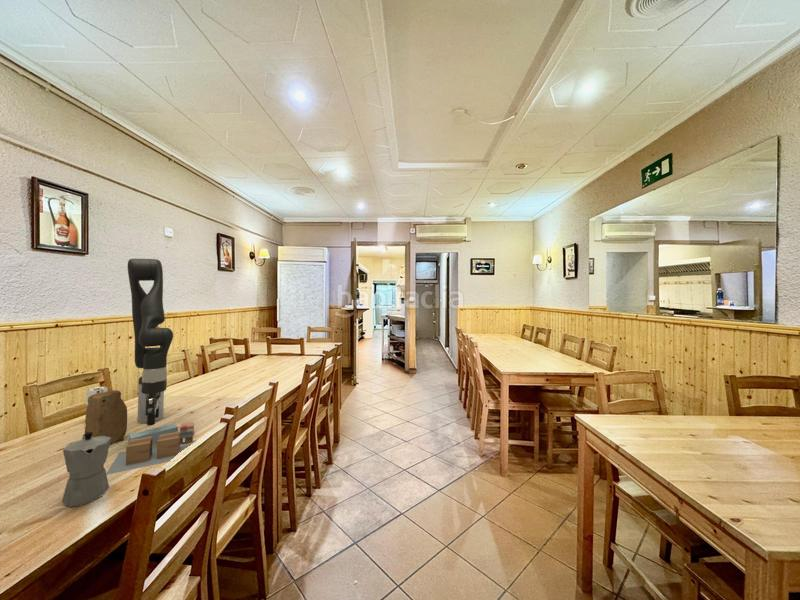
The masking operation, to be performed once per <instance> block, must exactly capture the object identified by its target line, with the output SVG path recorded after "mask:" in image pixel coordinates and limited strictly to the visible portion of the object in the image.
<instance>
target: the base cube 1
mask: <svg viewBox="0 0 800 600" xmlns="http://www.w3.org/2000/svg"><path fill="white" fill-rule="evenodd" d="M153 445H154V444H153V436H150V437H145V438H139V439H133V440H130V442H129V441H128V443H127V445H126V447H125V448H126V450H125V451H126V465H130V464H134V463H139V462H144V461H149V460H150V457H151V455H152V446H153Z"/></svg>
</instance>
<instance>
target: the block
mask: <svg viewBox="0 0 800 600" xmlns="http://www.w3.org/2000/svg"><path fill="white" fill-rule="evenodd" d="M84 423H85V426H84V434H85V433H88V432H93V433H92V437H98V436H106V437H110V438H111V441H110V446H111V445H115V444H116V443H119V442H122V440H123V439H124V437H125V436H126V433H127V429H128V406H127V405H126V402H125V401H124V400H123V398H122V393H121V390H118V389H117V390H115V389H113V390H111V389H110V390H109V389H108V391H106V392H101V393H97V394H94V395H91V396H89V398H88V405H87V406H86V411H85V422H84Z"/></svg>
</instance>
